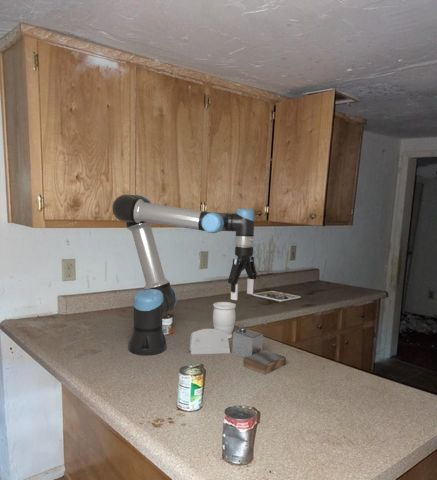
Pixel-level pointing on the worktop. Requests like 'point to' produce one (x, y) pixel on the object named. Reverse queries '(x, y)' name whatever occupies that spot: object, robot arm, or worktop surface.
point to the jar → (224, 317)
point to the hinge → (209, 342)
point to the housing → (246, 342)
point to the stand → (264, 361)
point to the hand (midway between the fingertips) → (242, 296)
